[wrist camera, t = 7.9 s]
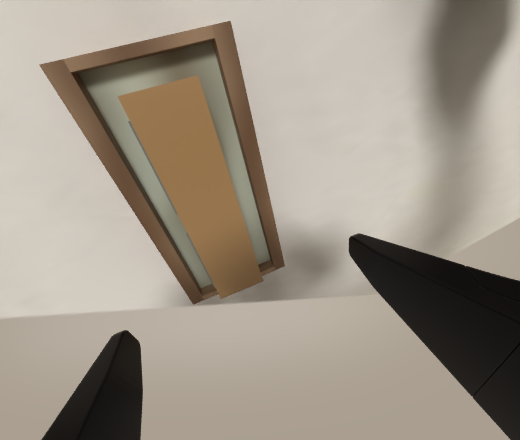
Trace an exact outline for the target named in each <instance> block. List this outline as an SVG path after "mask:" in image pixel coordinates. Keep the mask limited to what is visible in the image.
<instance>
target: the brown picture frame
mask: <svg viewBox="0 0 520 440" xmlns="http://www.w3.org/2000/svg"><path fill="white" fill-rule="evenodd" d="M40 67H41V68H42V70H43V71H44V73H45V75H46V76H47V78H48V79H49V81H50V82H51V84H52V85H53V87H54V89H55V90H56V92H57V93H58V95H59V96H60V98H61V99H62V101H63V103H64V104H65V106H66V107H67V109H68V110H69V112H70V113H71V115H72V117H73V118H74V120H75V121H76V123H77V124H78V126H79V127H80V129H81V131H82V132H83V134H84V135H85V137H86V138H87V140H88V141H89V143H90V145H91V146H92V148H93V149H94V151H95V152H96V154H97V155H98V157H99V159H100V160H101V162H102V163H103V165H104V166H105V168H106V169H107V171H108V173H109V174H110V176H111V177H112V179H113V180H114V182H115V183H116V185H117V187H118V188H119V190H120V191H121V193H122V194H123V196H124V197H125V199H126V201H127V202H128V204H129V205H130V207H131V208H132V210H133V211H134V213H135V215H136V216H137V218H138V219H139V221H140V222H141V224H142V225H143V227H144V229H145V230H146V232H147V233H148V235H149V236H150V238H151V239H152V241H153V243H154V244H155V246H156V247H157V249H158V250H159V252H160V253H161V255H162V257H163V258H164V260H165V261H166V263H167V264H168V266H169V267H170V269H171V271H172V272H173V274H174V275H175V277H176V278H177V280H178V281H179V283H180V285H181V286H182V288H183V289H184V291H185V292H186V294H187V295H188V297H189V299H190V300H191V302H192V303H193V304H196V303H198V302H200V301H203V300H205V299H208V298H210V297H212V296H215V295H217V294H219V293H218V291H217V290H216V288H214V286H213V285H212V283H211V281H210V279H209V277H208V275H207V273H206V271H205V269H204V267H203V265H202V263H201V261H200V260H199V258H198V256H197V254H196V252H195V250H194V248H193V246H192V244H191V242H190V240H189V238H188V236H187V231H186V229H185V227H184V225H183V223H182V221H181V219H180V218H179V216H178V214H177V215H176V213H175V211H174V209H173V208H172V206H171V204H170V202H169V200H168V198H167V196H166V194H165V192H164V190H163V188H162V186H161V184H160V182H159V181H158V179H157V177H156V175H155V173H154V171H153V169H152V167H151V165H150V163H149V161H148V159H147V157H146V156H145V154H144V152H143V150H142V148H141V146H140V144H139V142H138V140H137V138H136V136H135V134H134V132H133V130H132V129H131V127H130V125H129V123H128V121H129V118H128V116H127V114H126V112H125V110H124V109H123V107H122V105H121V103H120V101H119V99H118V97H117V96H120V95H124V94H128V93H132V92H136V91H140V90H143V89H147V88H151V87H155V86H159V85H162V84H166V83H170V82H174V81H178V80H181V79H185V78H189V77H193V76H197V75H198V77H199V80H200V83H201V86H202V89H203V93H204V96H205V99H206V102H207V105H208V108H209V112H210V115H211V118H212V121H213V124H214V127H215V130H216V134H217V137H218V140H219V143H220V146H221V149H222V153H223V156H224V159H225V162H226V165H227V168H228V171H229V175H230V178H231V181H232V184H233V187H234V190H235V193H236V197H237V200H238V203H239V206H240V209H241V212H242V216H243V219H244V222H245V225H246V228H247V231H248V234H249V238H250V241H251V244H252V247H253V250H254V253H255V257H256V260H257V263H258V266H259V269H260V272H261V275H265V274H267V273H270V272H272V271H274V270H277V269H279V268H281V267H284V266H285V265H284V260H283V256H282V251H281V247H280V242H279V238H278V233H277V229H276V224H275V220H274V215H273V211H272V206H271V202H270V197H269V193H268V188H267V184H266V179H265V175H264V170H263V166H262V161H261V156H260V152H259V147H258V143H257V138H256V134H255V129H254V125H253V120H252V116H251V111H250V107H249V102H248V98H247V93H246V89H245V84H244V80H243V75H242V71H241V66H240V62H239V57H238V53H237V48H236V44H235V39H234V35H233V30H232V25H231V21H228V22H223V23H219V24H215V25H210V26H206V27H202V28H197V29H193V30H189V31H184V32H180V33H176V34H171V35H167V36H162V37H158V38H154V39H149V40H145V41H141V42H136V43H132V44H128V45H123V46H119V47H115V48H110V49H106V50H101V51H97V52H93V53H88V54H84V55H80V56H75V57H71V58H67V59H62V60H58V61H54V62H49V63H45V64H41V65H40Z"/></svg>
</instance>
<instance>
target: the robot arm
mask: <svg viewBox="0 0 520 440" xmlns="http://www.w3.org/2000/svg"><path fill="white" fill-rule="evenodd" d="M349 254H350V256H351V257H352V259H353V260H354V262H355V263H356V264H357V266H358V267H359V268H360V270H361V271H362V272H363V274H364V275H365V277H366V278H367V279H368V281H369V282H370V283H371V285H372V286H373V287H374V288H375V289H376V291H377V292H378V293H379V294H380V295H381V296H382V297H383V298H384V299H385V301H386V302H387V303H388V304H389V305H390V306H391V307H392V308H393V309H394V310H395V312H396V313H397V314H398V315H399V316H400V317H401V318H402V319H403V321H404V322H405V323H406V324H407V325H408V326H409V327H410V328H411V329H412V331H413V332H414V333H415V334H416V335H417V336H418V337H419V338H420V339H421V341H422V342H423V343H424V344H425V345H426V346H427V347H428V348H429V349H430V351H431V352H432V353H433V354H434V355H435V356H436V357H437V358H438V359H439V360H440V362H441V363H442V364H443V365H444V366H445V367H446V368H447V369H448V371H449V372H450V373H451V374H452V375H453V376H454V377H455V378H456V379H457V380H458V382H459V383H460V384H461V385H462V386H463V387H464V388H465V389H466V390H467V392H468V393H469V394H470V395H471V396H473V398H474V400H475V401H476V402H477V403H478V404H479V405H480V406H481V407H482V408H483V410H485V412H486V413H487V414H488V415H489V416H490V417H491V418H492V420H493V421H494V422H495V423H496V424H497V425H498V426H499V427H500V428H501V430H503V432H504V433H505V434H506V435H507V436H508V437H509V438H510V440H520V281H518V280H514V279H510V278H506V277H503V276H499V275H496V274H492V273H489V272H485V271H482V270H478V269H475V268H472V267H468V266H466V267H465V266H464V265H462V264H458V263H455V262H452V261H449V260H445V259H442V258H439V257H436V256H432V255H429V254H426V253H422V252H419V251H416V250H413V249H409V248H406V247H403V246H399V245H396V244H393V243H390V242H386V241H383V240H380V239H377V238H373V237H370V236H367V235H363V234H355V235H353V236H351V237H350V238H349ZM142 396H143V386H142V366H141V348H140V343H139V341H138V340H137V339H136V338H135V337H134V336H133V335H132V334H131V333H130V332H129V331H127V330H124V331H121V332H119V333H116V334H114V335H113V336H112V337H111V338H110V340H109V341H108V343H107V344H106V346H105V347H104V349H103V350H102V352H101V353H100V355H99V356H98V358H97V359H96V360H95V362H94V363H93V365H92V366H91V368H90V369H89V371H88V372H87V374H86V375H85V377H84V378H83V380H82V381H81V383H80V384H79V385H78V387H77V388H76V390H75V391H74V393H73V394H72V396H71V397H70V399H69V400H68V402H67V403H66V405H65V406H64V408H63V409H62V410H61V412H60V413H59V415H58V416H57V418H56V420H55V421H54V422H53V424H52V425H51V427H50V428H49V430H48V431H47V432H46V434H45V435H44V437H43V438H42V440H140V436H141V417H142V398H143V397H142Z"/></svg>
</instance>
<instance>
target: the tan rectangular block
mask: <svg viewBox="0 0 520 440" xmlns="http://www.w3.org/2000/svg"><path fill="white" fill-rule="evenodd" d="M117 97H118V99H119V101H120V103H121V105H122V107H123V109H124V110H125V112H126V114H127V116H128V118H129V121H128V123H129V125H130V127H131V129H132V130H133V132H134V134H135V136H136V138H137V140H138V142H139V144H140V146H141V148H142V150H143V152H144V154H145V156H146V157H147V159H148V161H149V163H150V165H151V167H152V169H153V171H154V173H155V175H156V177H157V179H158V181H159V182H160V184H161V186H162V188H163V190H164V192H165V194H166V196H167V198H168V200H169V202H170V204H171V206H172V208H173V209H174V211H175V213H176V215H177V214H178V216H179V218H180V219H181V221H182V223H183V225H184V227H185V229H186V231H187V236H188V238H189V240H190V242H191V244H192V246H193V248H194V250H195V252H196V254H197V256H198V258H199V260H200V261H201V263H202V265H203V267H204V269H205V271H206V273H207V275H208V277H209V279H210V281H211V283H212V285H213V286H214V288H216V290H217V291H218V293H219V295H220V297H221V299H222V298H224V297H227V296H229V295H231V294H234V293H236V292H238V291H241V290H243V289H245V288H248V287H250V286H253V285H255V284H257V283H260V282H262V281H263V279H262V275H261V272H260V269H259V266H258V263H257V260H256V257H255V253H254V250H253V247H252V244H251V241H250V238H249V234H248V231H247V228H246V225H245V222H244V219H243V216H242V212H241V209H240V206H239V203H238V200H237V197H236V193H235V190H234V187H233V184H232V181H231V178H230V175H229V171H228V168H227V165H226V162H225V159H224V156H223V153H222V149H221V146H220V143H219V140H218V137H217V134H216V130H215V127H214V124H213V121H212V118H211V115H210V112H209V108H208V105H207V102H206V99H205V96H204V93H203V89H202V86H201V83H200V80H199V77H198V75H197V76H193V77H189V78H185V79H181V80H178V81H174V82H170V83H166V84H162V85H159V86H155V87H151V88H147V89H143V90H140V91H136V92H132V93H128V94H124V95H120V96H117Z"/></svg>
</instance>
